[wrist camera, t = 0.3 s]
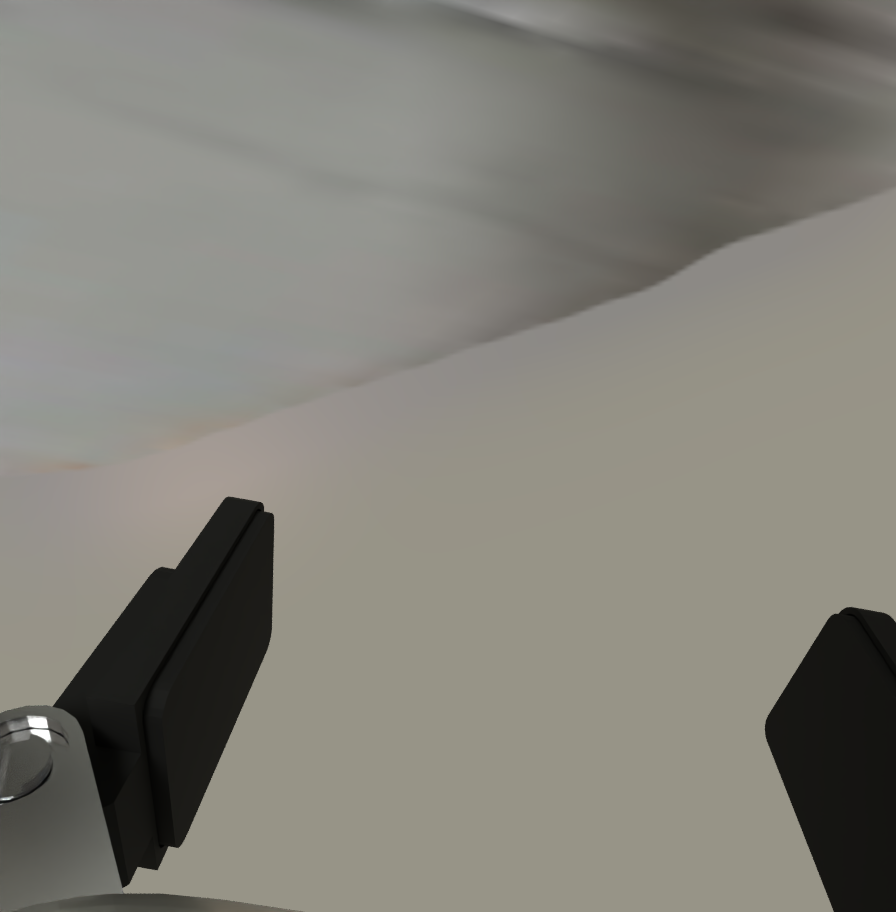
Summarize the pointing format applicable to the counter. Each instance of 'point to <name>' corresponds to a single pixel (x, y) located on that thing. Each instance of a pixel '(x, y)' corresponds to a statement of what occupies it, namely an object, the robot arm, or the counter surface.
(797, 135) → the counter surface
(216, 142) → the counter surface
